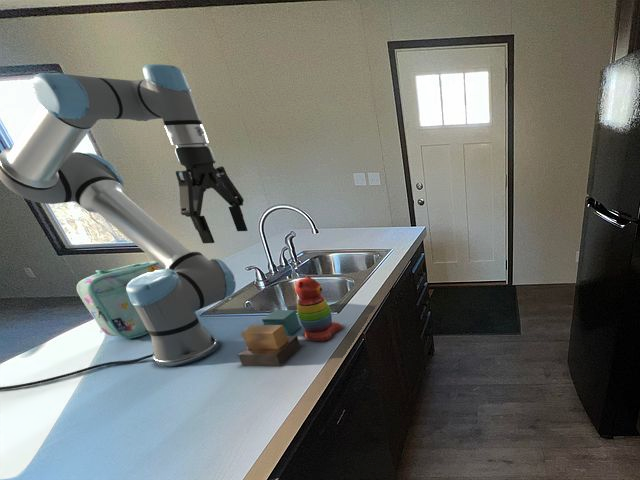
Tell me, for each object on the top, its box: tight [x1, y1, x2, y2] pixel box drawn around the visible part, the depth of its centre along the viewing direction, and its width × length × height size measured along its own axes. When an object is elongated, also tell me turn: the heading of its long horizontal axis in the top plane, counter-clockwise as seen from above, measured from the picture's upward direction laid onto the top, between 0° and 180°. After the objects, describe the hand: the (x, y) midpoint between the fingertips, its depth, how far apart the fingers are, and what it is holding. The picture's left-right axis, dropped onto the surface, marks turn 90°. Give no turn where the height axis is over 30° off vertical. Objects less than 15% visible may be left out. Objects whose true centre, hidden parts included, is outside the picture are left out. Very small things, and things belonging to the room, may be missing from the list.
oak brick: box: [241, 324, 288, 349], centre depth 104 cm, size 9×5×5 cm, turn 85°
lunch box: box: [76, 260, 164, 339], centre depth 123 cm, size 27×10×21 cm, turn 158°
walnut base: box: [237, 335, 301, 367], centre depth 106 cm, size 11×11×4 cm
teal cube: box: [261, 309, 301, 336], centre depth 119 cm, size 7×7×6 cm
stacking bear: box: [294, 275, 343, 342], centre depth 114 cm, size 11×10×18 cm
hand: (226, 236), depth 102 cm, fingers open, 13 cm apart
